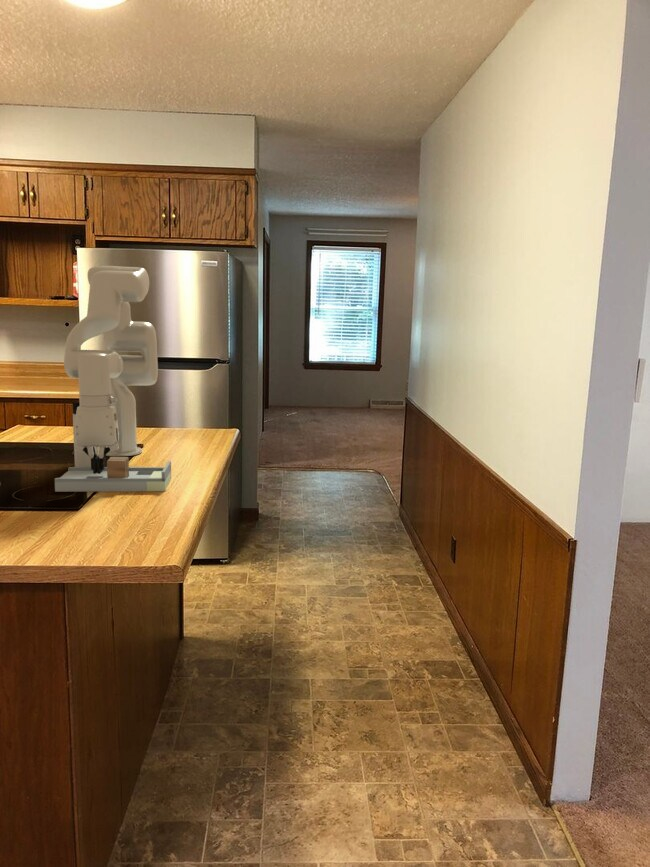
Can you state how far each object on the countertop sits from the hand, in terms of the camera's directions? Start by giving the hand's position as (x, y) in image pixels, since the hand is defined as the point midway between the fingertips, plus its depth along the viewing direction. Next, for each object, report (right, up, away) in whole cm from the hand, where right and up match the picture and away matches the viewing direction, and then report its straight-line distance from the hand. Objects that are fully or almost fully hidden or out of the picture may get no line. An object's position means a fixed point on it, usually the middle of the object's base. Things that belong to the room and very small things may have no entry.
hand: (98, 472), depth 163 cm
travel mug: (-10, -1, +18) cm, 21 cm away
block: (+5, -2, +1) cm, 5 cm away
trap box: (+3, -4, +4) cm, 6 cm away
